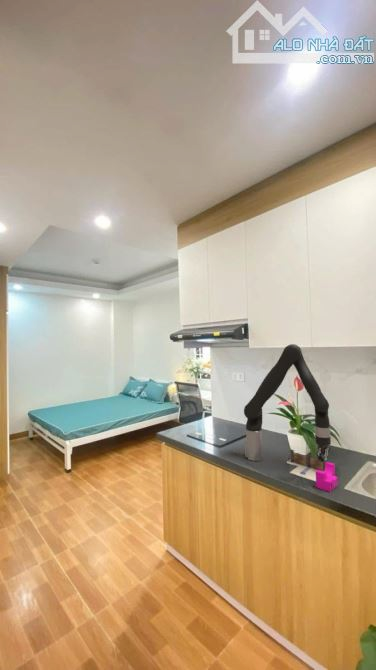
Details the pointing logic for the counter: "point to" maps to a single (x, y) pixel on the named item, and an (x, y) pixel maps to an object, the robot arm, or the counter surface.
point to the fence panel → (318, 464)
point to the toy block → (326, 477)
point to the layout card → (303, 471)
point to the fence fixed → (300, 459)
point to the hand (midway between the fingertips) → (323, 467)
